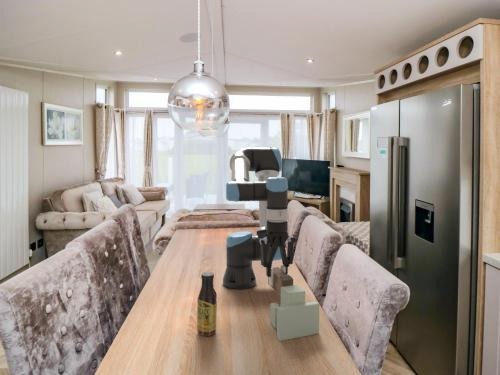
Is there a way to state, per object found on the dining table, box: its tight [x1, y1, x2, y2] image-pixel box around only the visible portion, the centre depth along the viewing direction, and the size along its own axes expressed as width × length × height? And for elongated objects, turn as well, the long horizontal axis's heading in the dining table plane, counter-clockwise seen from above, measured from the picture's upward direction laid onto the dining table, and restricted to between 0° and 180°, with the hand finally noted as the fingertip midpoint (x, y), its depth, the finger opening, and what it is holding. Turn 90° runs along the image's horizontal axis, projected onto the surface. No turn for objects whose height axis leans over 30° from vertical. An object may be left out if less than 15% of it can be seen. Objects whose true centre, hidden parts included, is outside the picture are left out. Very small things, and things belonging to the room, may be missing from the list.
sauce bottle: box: [196, 271, 218, 337], centre depth 115 cm, size 7×6×20 cm
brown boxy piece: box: [267, 266, 294, 297], centre depth 125 cm, size 12×4×6 cm, turn 21°
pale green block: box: [269, 284, 320, 342], centre depth 118 cm, size 12×14×14 cm
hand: (277, 284), depth 128 cm, fingers closed on brown boxy piece, 4 cm apart
